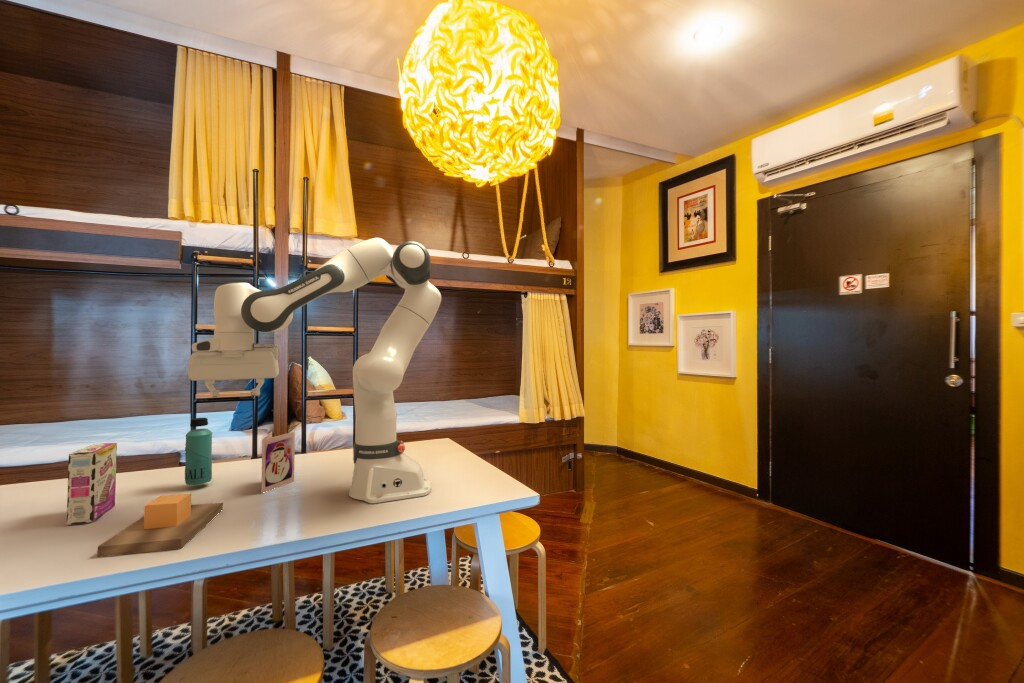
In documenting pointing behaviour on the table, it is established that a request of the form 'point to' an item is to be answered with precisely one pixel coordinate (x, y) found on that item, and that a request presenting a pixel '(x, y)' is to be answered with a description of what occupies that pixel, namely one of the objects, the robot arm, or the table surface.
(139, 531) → the base plate
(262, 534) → the table surface
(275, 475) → the greeting card
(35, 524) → the table surface
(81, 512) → the candy bar box
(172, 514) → the orange wooden cube
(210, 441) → the beverage bottle
